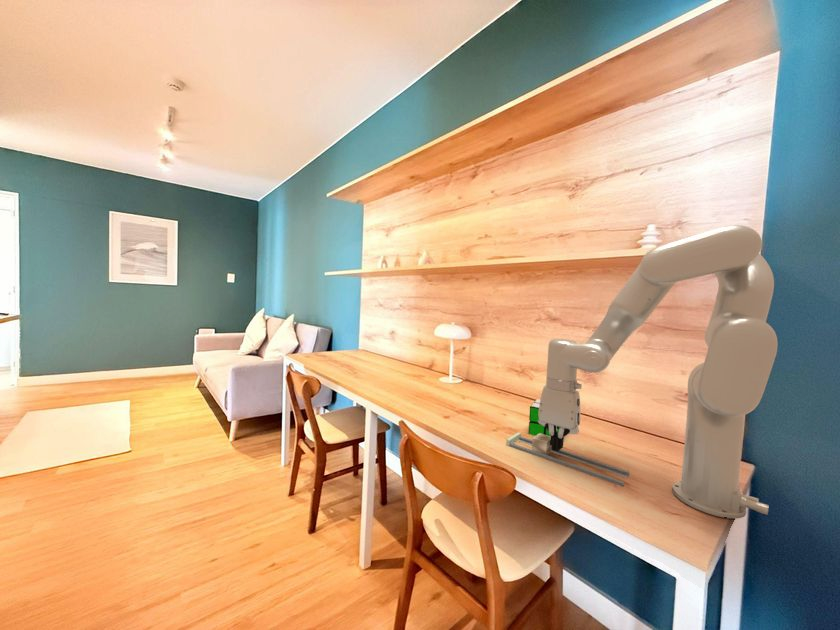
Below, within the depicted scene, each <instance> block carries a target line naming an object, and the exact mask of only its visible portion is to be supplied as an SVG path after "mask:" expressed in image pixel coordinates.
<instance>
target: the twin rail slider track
mask: <svg viewBox="0 0 840 630" xmlns="http://www.w3.org/2000/svg"><path fill="white" fill-rule="evenodd" d="M532 440H533V439H530V438H528V437H524V436H522V433H521V432H518V431H517V432H516V433H515V434H513V435H511V436H509V437H508V438H507V439H506V440H505V441H506V442H505V443H506V446H508V447H510V448H512V449H516V450H518V451H521V452H524V453H526V454H529V455H532V456H535V457H538V458H541V459H544V460H546V461H550V462H553V463H555V464H558V465H561V466H564V467H567V468H569V469H573V470H574V471H577V472H580V473H584V474H586V475H590V476H592V477H594V478H597V479H601V480H603V481H605V482H609V483H612V484H614V485H618V486H620V487H623V486H624V484H625V482H624V481H623V480H619V479H618V478H614V477H611V476H608V475H606V474H602V473H600V472H596V471H593V470H591V469H588V468H585V467H582V466H580V465H576V464H574V463H570V462H567V461H564V460H562V459H559V458H557V457H556V458H555V457H554V456H550V455H549V454H548V455H545V454H542V453H539V452H536V451H533V450H532V449H531V448H527V447H524V446H521V445H518V444H515V443H516V442H518V441H519V442H520V443H523V444H524V445H525V444H526V445H528V446H531V447H532ZM551 453H553V454H555V455H558V456H561V457H565V458H567V459H570V460H573V461H576V462H579V463H583V464H585V465H588V466H591V467H594V468H597V469H600V470H604V471H607V472H608V473H612V474H615V475H618V476H620V477H624V478H625V479H626V478H627V479H628V477H629V476H630V471H629V470H625V469H623V468H619V467H616V466H613V465H610V464H607V463H604V462H600V461H598V460H594V459H592V458H589V457H585V456H582V455H580V454H576V453H574V452H573V453H572V452H570V451H567V450H564V449H560V450H559V451H558V452H556V451H555V450H554V451H552V452H551Z"/></svg>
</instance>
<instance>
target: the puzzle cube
mask: <svg viewBox="0 0 840 630" xmlns="http://www.w3.org/2000/svg"><path fill="white" fill-rule="evenodd" d="M540 399H541V398H537V399H535V401H533V403H531V405H530V406H529V415H528V416H529V422H528V435H532V436H534V437H535V436H536V435H538V434H539V433H541V434H544V435H547V436H551V435H550V434H549V431H548V430H547V428H546V427H545V426H543V425H541V424H539V423H538V420H539V405H540ZM559 428H560V427H558V426H557V433H559Z"/></svg>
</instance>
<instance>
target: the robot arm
mask: <svg viewBox="0 0 840 630" xmlns="http://www.w3.org/2000/svg"><path fill="white" fill-rule="evenodd" d="M762 246H763V240H762V238H761V236H760V234H759V232H757V231H756V230H754V228H752V227H750V226H745V225H742V224H741V225H740V224H735V225H731V224H730V225H726V226H721V227H717V228H715V229H711V230H710V231H709V230H708V231H705V232H702V233H700V234H695V235H693V236H688V237H687V238H683V239H679V240H676V241H672V242H669V243H665V244H662V245H658V246H656V247H654V248H652V249H650V250H649V251H647V252H646V253H645V254H643V257H642V258H641V261H640V263H639V265H638V266H637V267H636V269H635V270H634V271H633V273H632V274H631V276H630V277H629V278H628V279H627V280H626V282H625V284H624V285H623V287H622V288H621V289H620V290H619V292H617V294H616V296H615V297H614V298H613V300H612V301H611V303H610V304H609V306H608V308H607V311H606V313H605V315H604V317H603V319H602V321H601V322H600V324H598V326H597V328H596V329H595V330H594V332H593V333H592V334H591V335H590V337H589V339H587V340H586V342H584V343H582V342H576V341H575V340H572V339H566V338H565V339H564V338H554V339H550V341H549V343H548V348H547V349H548V350H547V366H546V367H547V368H546V380H545V381H546V382H545V385H544V386H543V387H542V391H541V396H540V398H539V399H540V405H539V420H538V423H539V424H541V425H543V426H545V427H546V428H547V430H548V431H549V434H550V435H551V441H550V445H551V446H552V450H553V451H554V450H555V451H556V452H557V453H558V451H559V450H560V449H561V450H563V448H564V442H565V441H564V439H565V437H566V436H567V435H578V434H579V433H580V430H579V426H580V425H581V397H580V393H579V391H578V389H579V390H581V389H582V383H579V382H578V379H577V374H578V370H581V371H584V372H588V373H600V372H603V371H604V370H605V369H607V368H608V367H609V364H610V362H611V360H612V359H613V358H614V356H615V355H616V354H617V352H619V350H620V348H621V347H622V346H623V344H624V343H625V342H626V341H627V339H628V338H629V337H630V336H631V335H632V334H633V333H634V331H636V330H637V329H639V328H640V327H641V326H642V325H643V324H644V323H645V322H646V321H647V320H648V318H649V317H650V315H652V313H653V312H654V311H655V309H656V308H657V307H658V305H660V303H661V302H662V301H663V300H664V298H665V297H666V296H667V294H668V293H669V292H670V290H671V289H672V288H673V287H674V286H675V284H676V283H679V282H681V281H686V280H691V279H694V278H695V279H696V278H698V277H703V276H706V275H711V274H714V275H715V276H716V279H717V282H718V285H717V286H718V288H717V294H716V297H715V302H714V306H713V309H712V312H711V315H710V318H709V320H708V323H707V327H706V328H705V329H706V330H704V331H705V332H704V342H705V344H706V345H707V347H708V348H707V351H706V355H705V358H704V362H702V363H700V364H698V365H696V366H695V367H694V368H693V369H692V370H691V371H690V373H689V376H688V381H687V405H686V406H687V409H686V410H687V411H686V423H685V433H684V434H685V435H684V444H683V445H684V446H683V458H682V467H681V468H682V470H681V480H679V481H675V482H673V484H672V488H671V489H672V493H673V494H674V496H676V498H677V499H679V500H680V501H681V502H683V503H684V504H685V505H687V506H689V507H691V508H693V509H695V510H698V511H699V512H700V511H701V512H703V513H706V514H709V515H711V516H716V517H718V518H719V517H720V518H724V517H727V518H726V519H734V520H735V519H743V518H744V517H746V515H747V509H750V510H753V511H755V512H758V513H759V514H764V515H766V516H768V513H769V504H765V503H763V502H760V501H759V500H760V499H759V498H758V497H755V496H750V495H747V494H744V492H742V491H741V490H740V489H741V488H740V485H739V484H740V483H739V481H740V472H741V461H742V449H743V440H744V432H745V431H744V430H745V429H744V428H745V415H748V414H750V413H751V412H752V411H753V412H754V410H756V408H757V407H758V405H759V404H760V402H761V399H762V398H763V395H764V392H765V389H766V386H767V384H768V380H769V378H770V376H771V375H770V374H771V372H772V369H773V366H774V363H775V360H776V356H777V353H778V344H779V343H778V336H777V334H776V331H775V330H774V328H773V327H772V326H771V325H770V324H769V323H767V319H768V314H769V313H770V312H769V311H770V307H771V304H772V299H773V295H774V290H775V289H774V288H775V277H774V273H773V271H772V269H771V266H770V265H769V263H768V262H767V260H766V259H765V258H764V257H763V256H762V254H760V253H761V251H762ZM557 426H558V427H560V428H559V433H557ZM555 451H554V452H555Z"/></svg>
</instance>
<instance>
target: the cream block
mask: <svg viewBox="0 0 840 630" xmlns="http://www.w3.org/2000/svg"><path fill="white" fill-rule="evenodd" d="M531 440H532V446H531V450H533V451H536V452H539V453H542V454H545V455H548V456H549V455H550V454H551V453H552V451H553V450H552V446H551V445H550V441H551V436H547V435H544V434H541V433H539V434H538V435H536V436H535V435H534V437H532V439H531Z"/></svg>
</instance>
